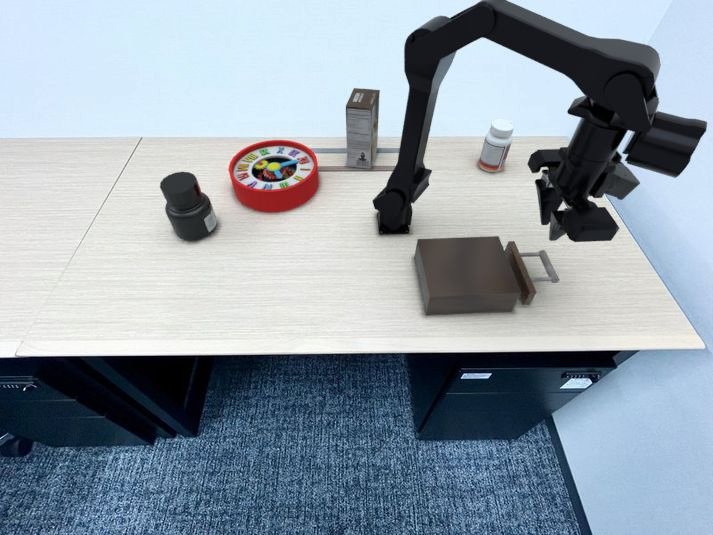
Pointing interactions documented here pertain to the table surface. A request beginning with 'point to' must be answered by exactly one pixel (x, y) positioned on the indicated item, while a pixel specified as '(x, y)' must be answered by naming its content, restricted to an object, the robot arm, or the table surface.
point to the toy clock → (274, 175)
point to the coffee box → (362, 127)
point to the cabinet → (465, 276)
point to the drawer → (522, 273)
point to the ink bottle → (188, 207)
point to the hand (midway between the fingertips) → (548, 232)
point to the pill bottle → (496, 145)
